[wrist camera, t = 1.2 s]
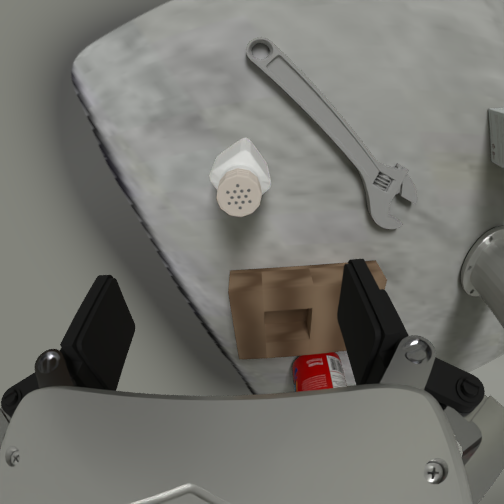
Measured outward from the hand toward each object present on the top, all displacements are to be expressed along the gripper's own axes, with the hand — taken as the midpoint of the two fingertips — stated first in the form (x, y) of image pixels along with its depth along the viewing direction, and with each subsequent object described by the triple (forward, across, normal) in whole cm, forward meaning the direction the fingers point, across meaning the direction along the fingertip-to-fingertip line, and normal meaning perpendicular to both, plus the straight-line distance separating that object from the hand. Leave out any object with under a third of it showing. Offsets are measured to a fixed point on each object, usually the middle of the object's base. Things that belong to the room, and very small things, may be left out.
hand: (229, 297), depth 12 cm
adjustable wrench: (+21, -11, -3) cm, 24 cm away
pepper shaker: (+20, 0, 0) cm, 20 cm away
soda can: (+20, -9, +32) cm, 39 cm away
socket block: (+20, -7, +19) cm, 28 cm away
